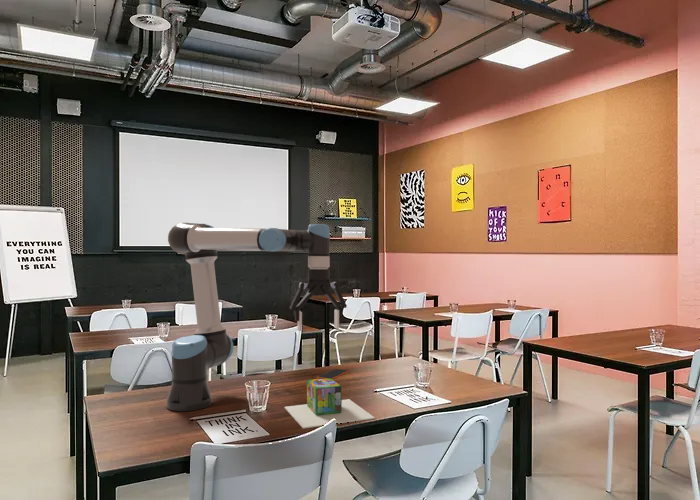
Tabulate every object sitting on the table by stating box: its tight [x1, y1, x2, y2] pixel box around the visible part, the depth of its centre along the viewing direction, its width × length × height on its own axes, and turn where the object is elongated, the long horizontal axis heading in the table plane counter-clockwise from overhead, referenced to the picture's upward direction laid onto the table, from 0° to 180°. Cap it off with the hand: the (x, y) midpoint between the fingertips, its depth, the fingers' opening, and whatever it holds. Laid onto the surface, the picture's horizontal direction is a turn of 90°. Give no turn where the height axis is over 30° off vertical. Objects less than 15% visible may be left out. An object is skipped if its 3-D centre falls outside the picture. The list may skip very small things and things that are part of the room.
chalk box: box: [306, 378, 343, 415], centre depth 169 cm, size 9×9×15 cm
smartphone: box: [316, 368, 350, 380], centre depth 221 cm, size 8×17×1 cm, turn 153°
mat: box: [284, 398, 376, 430], centre depth 168 cm, size 24×22×1 cm
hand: (318, 329), depth 176 cm, fingers open, 13 cm apart
